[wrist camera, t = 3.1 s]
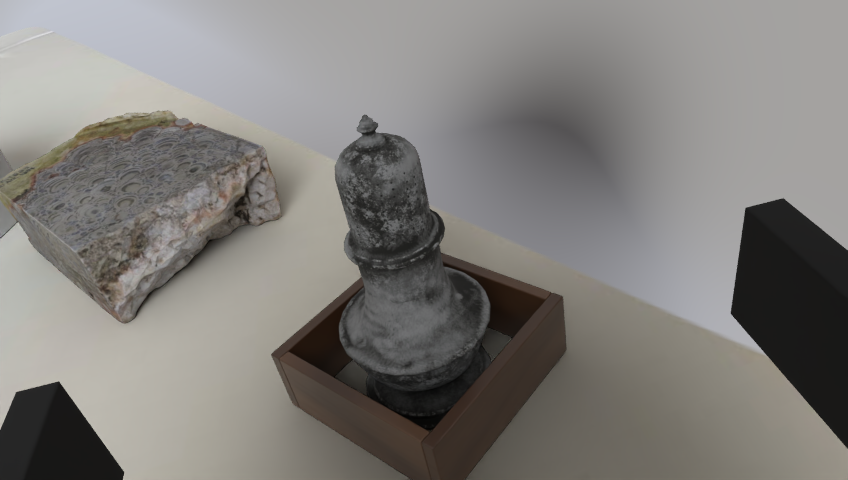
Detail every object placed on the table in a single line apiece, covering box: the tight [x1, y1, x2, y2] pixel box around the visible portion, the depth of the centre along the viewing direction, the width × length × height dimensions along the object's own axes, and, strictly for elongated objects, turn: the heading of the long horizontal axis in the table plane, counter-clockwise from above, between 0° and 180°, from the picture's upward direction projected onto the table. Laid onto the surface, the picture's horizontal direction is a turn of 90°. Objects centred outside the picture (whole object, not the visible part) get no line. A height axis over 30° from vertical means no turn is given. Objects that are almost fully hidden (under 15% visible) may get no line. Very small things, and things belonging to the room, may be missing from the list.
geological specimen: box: [0, 110, 282, 323], centre depth 39 cm, size 11×6×15 cm
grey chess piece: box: [335, 115, 491, 430], centre depth 24 cm, size 6×6×12 cm
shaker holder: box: [271, 253, 566, 480], centre depth 27 cm, size 8×8×3 cm
